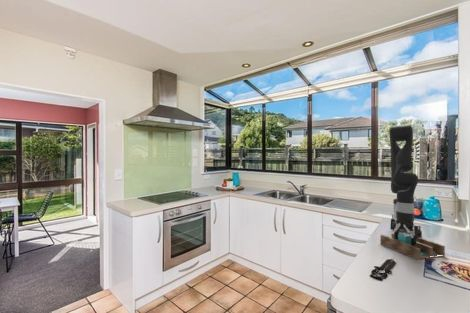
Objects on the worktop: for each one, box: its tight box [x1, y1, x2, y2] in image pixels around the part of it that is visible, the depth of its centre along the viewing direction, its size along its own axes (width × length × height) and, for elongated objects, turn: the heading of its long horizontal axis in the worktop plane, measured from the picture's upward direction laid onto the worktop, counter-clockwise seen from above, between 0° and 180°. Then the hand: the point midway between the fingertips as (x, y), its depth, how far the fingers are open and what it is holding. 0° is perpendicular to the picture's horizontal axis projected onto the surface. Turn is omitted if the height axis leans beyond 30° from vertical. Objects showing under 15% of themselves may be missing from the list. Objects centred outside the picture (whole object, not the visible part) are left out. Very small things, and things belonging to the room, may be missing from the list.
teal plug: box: [398, 232, 412, 245], centre depth 116 cm, size 4×4×7 cm
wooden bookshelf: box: [379, 232, 446, 261], centre depth 117 cm, size 20×18×5 cm
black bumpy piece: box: [369, 258, 397, 282], centre depth 96 cm, size 25×6×1 cm, turn 127°
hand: (404, 241), depth 116 cm, fingers open, 8 cm apart
